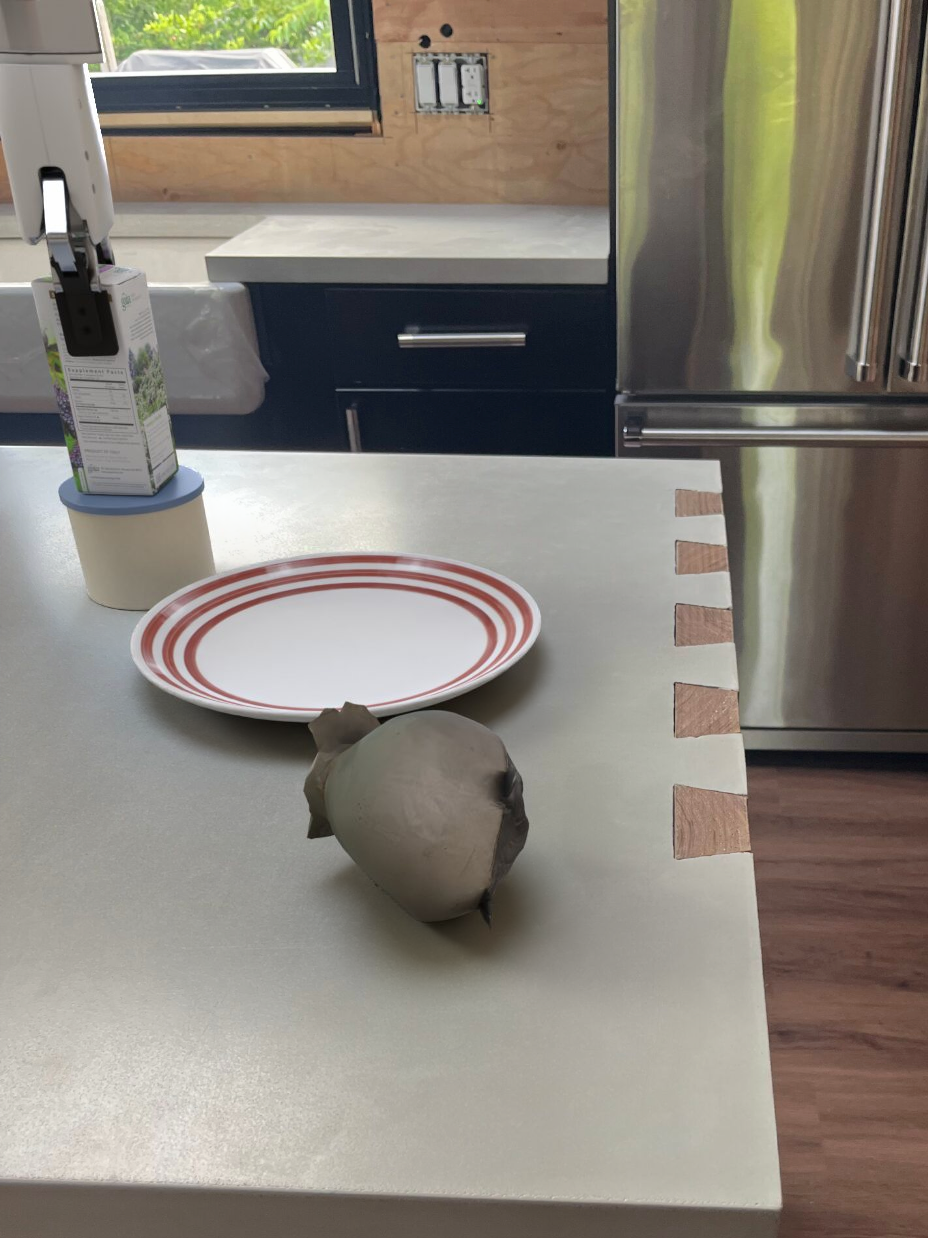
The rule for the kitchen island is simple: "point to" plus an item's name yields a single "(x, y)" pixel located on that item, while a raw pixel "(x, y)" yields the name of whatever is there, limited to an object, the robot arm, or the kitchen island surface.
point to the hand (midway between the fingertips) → (100, 340)
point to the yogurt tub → (141, 541)
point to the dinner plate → (335, 634)
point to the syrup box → (112, 393)
